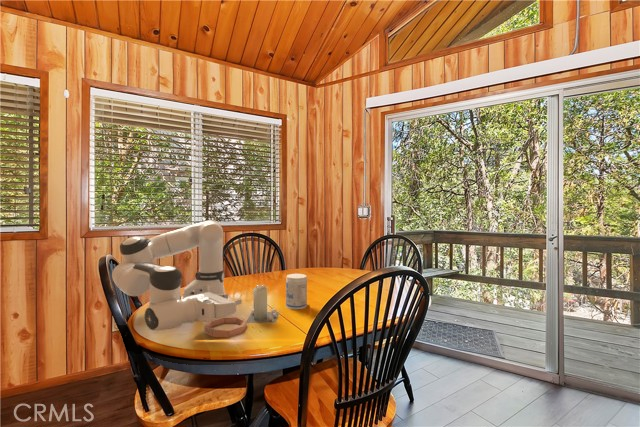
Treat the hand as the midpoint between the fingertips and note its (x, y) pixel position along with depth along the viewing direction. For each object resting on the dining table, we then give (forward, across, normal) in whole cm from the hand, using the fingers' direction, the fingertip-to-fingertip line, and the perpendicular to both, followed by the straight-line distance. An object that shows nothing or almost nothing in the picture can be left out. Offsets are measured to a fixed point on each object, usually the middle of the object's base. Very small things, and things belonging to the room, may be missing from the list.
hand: (233, 298), depth 121 cm
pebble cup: (+12, 0, -11) cm, 16 cm away
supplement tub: (+33, -1, -12) cm, 35 cm away
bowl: (-3, 0, -12) cm, 12 cm away
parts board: (+14, -1, -12) cm, 18 cm away
